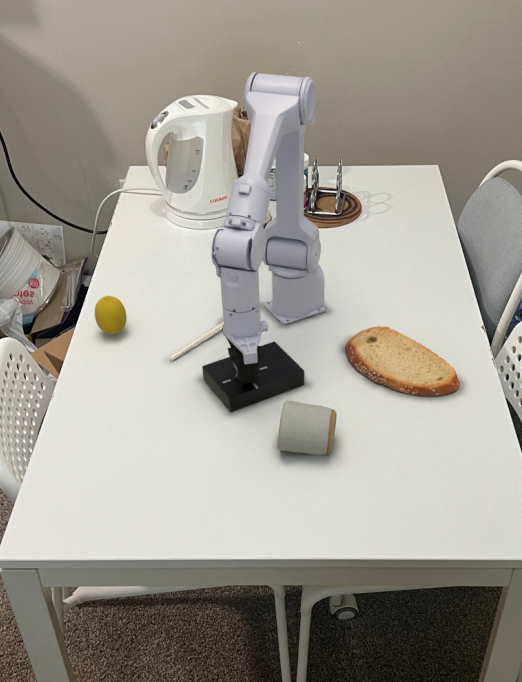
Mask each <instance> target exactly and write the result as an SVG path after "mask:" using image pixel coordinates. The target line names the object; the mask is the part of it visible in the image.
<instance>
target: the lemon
mask: <svg viewBox="0 0 522 682" xmlns="http://www.w3.org/2000/svg"><path fill="white" fill-rule="evenodd" d="M94 307H95V308H94V319H95V322H96V325H97V327H98V328H99V329H100V330H101V331H102V332H104V333H105V334H110V335H116V334H117V333H119V332H121V331H122V330H123V329H124V328H125V326H126V325H127V319H128V318H127V312H126V311H127V310H126V308H125V306H124V305H123V303H122V301H121V300H120V299H119V298H117V297H115V296H113V295H105V296H102V297H101V298H100V299H98V301H97V302H96V304H95V306H94Z"/></svg>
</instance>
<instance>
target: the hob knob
mask: <svg viewBox="0 0 522 682" xmlns="http://www.w3.org/2000/svg"><path fill="white" fill-rule="evenodd" d="M232 367H233V377H234V379H235V380H237V381H239V382H241V381H240V378H239V375H238V371H237V367H236V365H235V364H234V362H233V361H232ZM256 377H257V372H256ZM256 377H255V378H256Z"/></svg>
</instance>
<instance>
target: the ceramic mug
mask: <svg viewBox="0 0 522 682" xmlns="http://www.w3.org/2000/svg"><path fill="white" fill-rule="evenodd" d="M337 416H338V415H337V412H336V410H335V409H333V408H331V407H328V406H324V405H319V404H318V405H317V404H310V403H305V402H300V401H294V400H288V399H287V400H285V401H284V402H283V405H282V409H281V414H280V418H279V426H278V437H277V448H278V450H279V451H281V452H290V453H299V454H308V455H317V456H323V455H325V456H326V455H329V454H330V453H332V452H333V447H334V441H335V435H336V427H337V418H338V417H337Z"/></svg>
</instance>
